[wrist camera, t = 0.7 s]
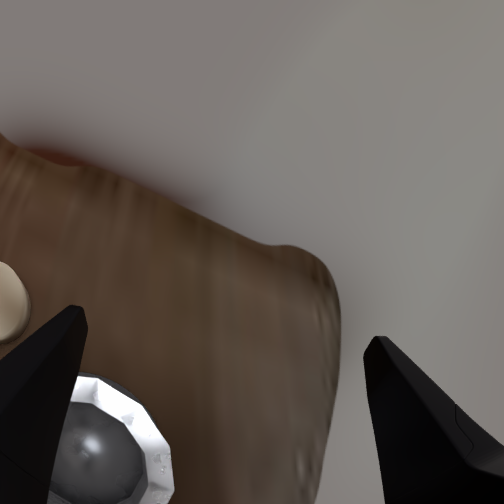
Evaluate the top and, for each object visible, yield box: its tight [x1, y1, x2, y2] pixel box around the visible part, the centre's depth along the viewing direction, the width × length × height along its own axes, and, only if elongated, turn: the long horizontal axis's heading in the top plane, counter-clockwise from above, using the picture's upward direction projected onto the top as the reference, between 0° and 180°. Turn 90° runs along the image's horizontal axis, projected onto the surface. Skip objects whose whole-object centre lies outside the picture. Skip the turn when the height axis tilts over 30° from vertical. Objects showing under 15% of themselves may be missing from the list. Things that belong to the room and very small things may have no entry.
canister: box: [47, 372, 175, 504], centre depth 15 cm, size 12×12×7 cm
